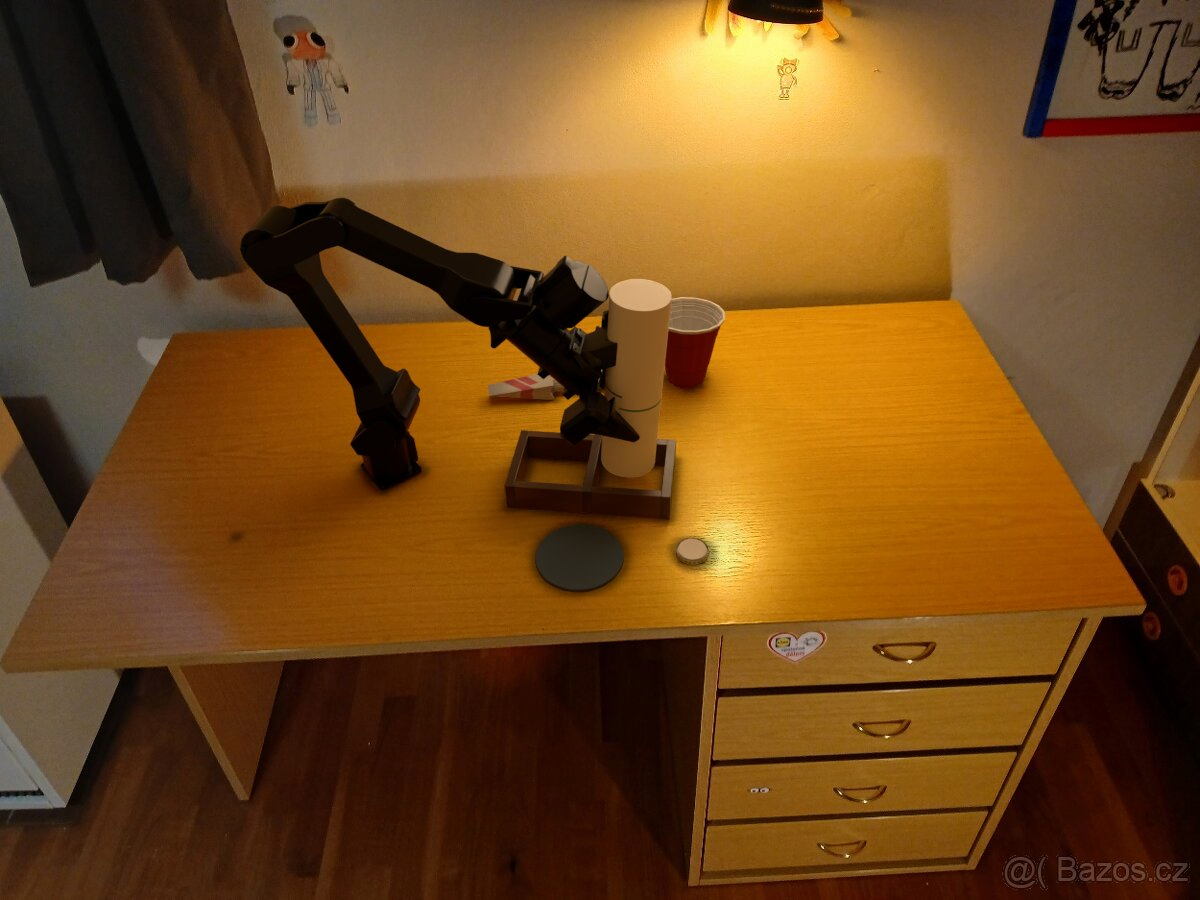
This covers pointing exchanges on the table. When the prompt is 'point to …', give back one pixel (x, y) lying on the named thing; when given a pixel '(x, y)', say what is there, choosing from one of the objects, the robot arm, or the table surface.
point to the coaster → (579, 557)
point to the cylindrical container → (636, 371)
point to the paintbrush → (526, 388)
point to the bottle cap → (692, 551)
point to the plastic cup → (691, 340)
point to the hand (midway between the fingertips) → (640, 422)
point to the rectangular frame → (585, 480)
